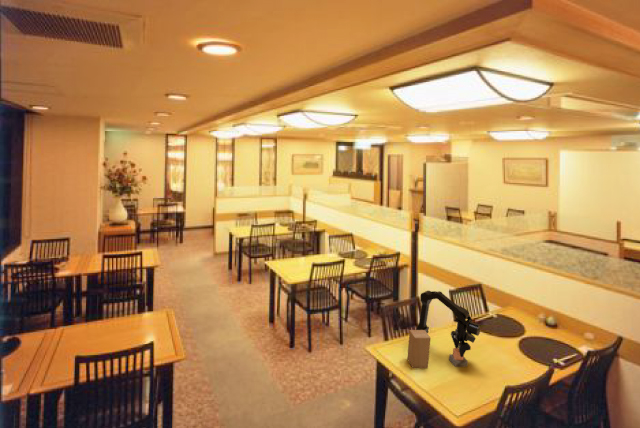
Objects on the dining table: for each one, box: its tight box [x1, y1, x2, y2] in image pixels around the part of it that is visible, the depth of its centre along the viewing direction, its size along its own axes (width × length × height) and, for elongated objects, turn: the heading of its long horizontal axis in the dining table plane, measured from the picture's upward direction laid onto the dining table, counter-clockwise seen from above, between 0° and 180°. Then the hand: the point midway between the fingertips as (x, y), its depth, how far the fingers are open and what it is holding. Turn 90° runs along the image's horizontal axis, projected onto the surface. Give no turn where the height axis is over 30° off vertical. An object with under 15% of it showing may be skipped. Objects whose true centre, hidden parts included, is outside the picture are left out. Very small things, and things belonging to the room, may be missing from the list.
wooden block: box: [406, 329, 432, 369], centre depth 223 cm, size 10×10×20 cm
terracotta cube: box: [452, 347, 465, 360], centre depth 226 cm, size 5×5×5 cm
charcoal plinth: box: [448, 353, 468, 368], centre depth 227 cm, size 8×8×4 cm
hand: (459, 352), depth 226 cm, fingers open, 9 cm apart
